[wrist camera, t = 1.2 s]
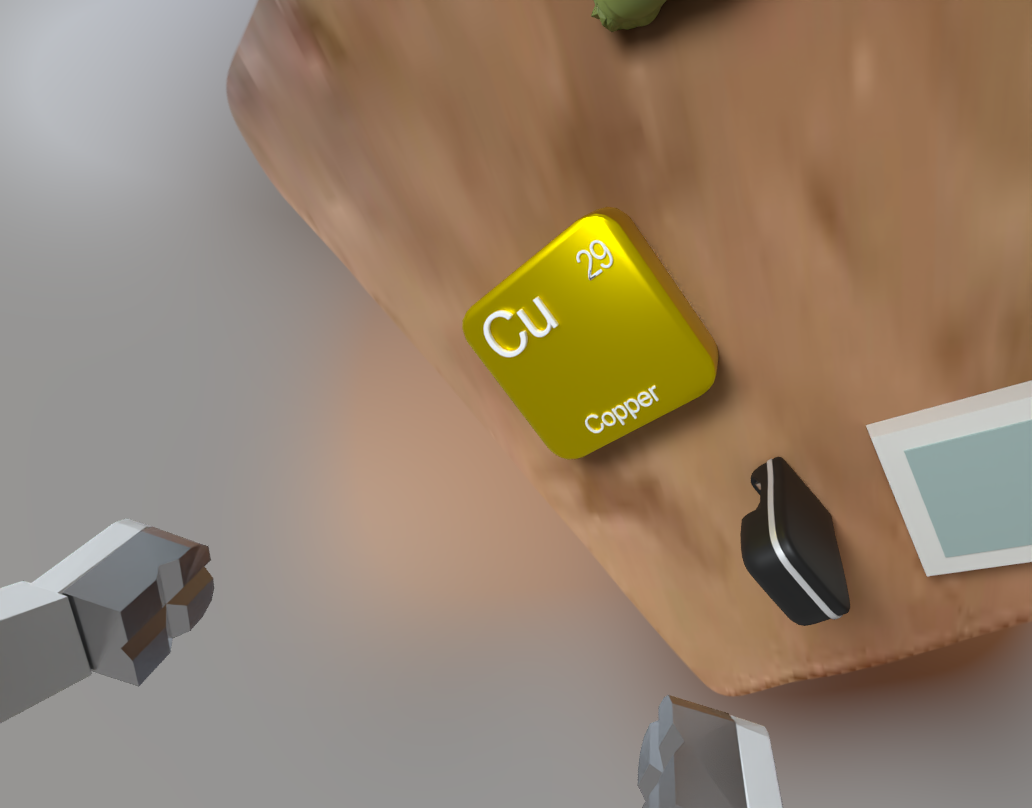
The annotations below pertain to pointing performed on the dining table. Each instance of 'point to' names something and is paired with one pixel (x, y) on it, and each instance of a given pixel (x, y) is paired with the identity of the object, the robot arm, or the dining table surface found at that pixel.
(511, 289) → the element tile
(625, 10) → the pear
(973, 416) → the plate
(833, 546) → the battery charger
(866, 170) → the dining table surface
